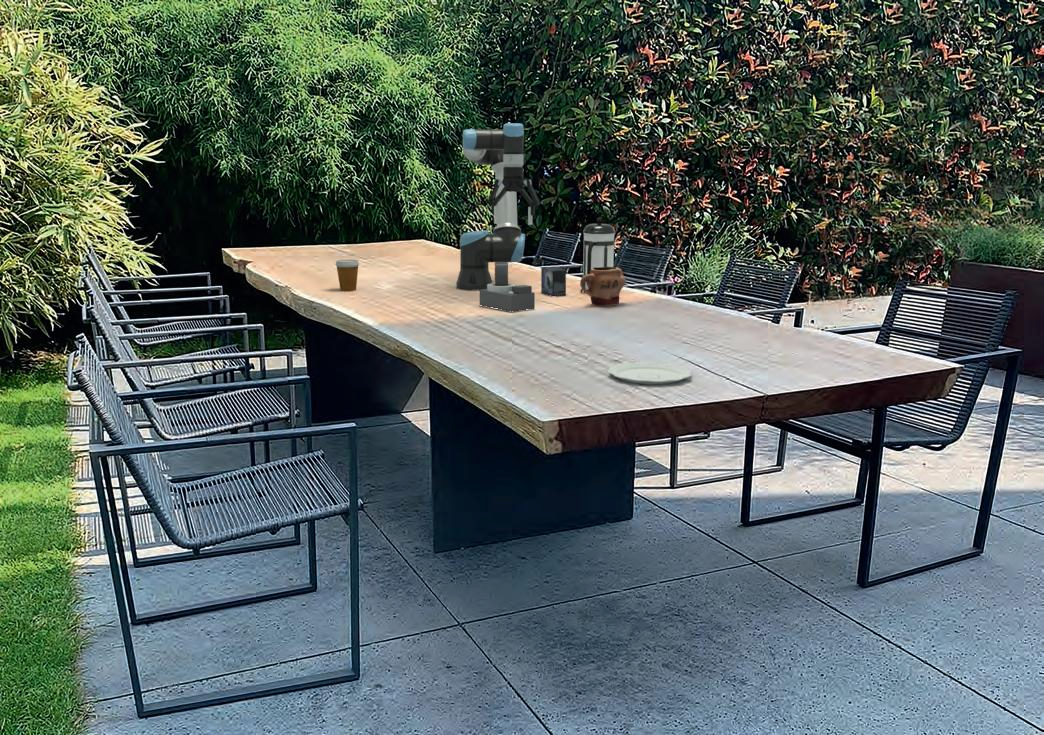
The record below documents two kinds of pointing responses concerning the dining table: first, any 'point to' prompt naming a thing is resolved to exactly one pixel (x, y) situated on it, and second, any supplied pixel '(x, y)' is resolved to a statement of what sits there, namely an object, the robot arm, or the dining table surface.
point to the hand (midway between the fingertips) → (513, 224)
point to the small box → (553, 281)
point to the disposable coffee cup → (347, 274)
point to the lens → (501, 273)
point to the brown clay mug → (604, 285)
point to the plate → (649, 372)
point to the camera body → (508, 297)
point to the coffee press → (598, 247)
